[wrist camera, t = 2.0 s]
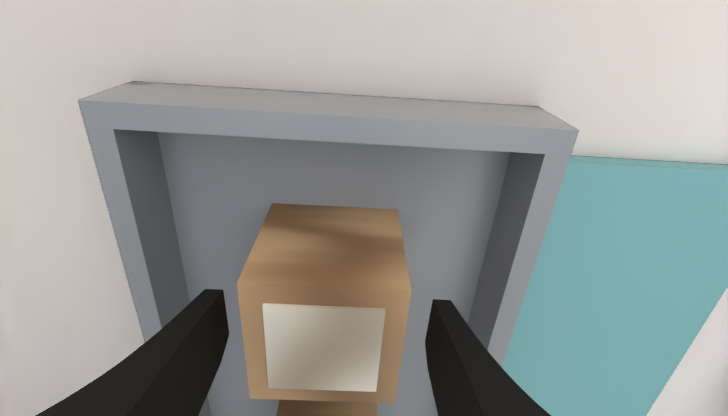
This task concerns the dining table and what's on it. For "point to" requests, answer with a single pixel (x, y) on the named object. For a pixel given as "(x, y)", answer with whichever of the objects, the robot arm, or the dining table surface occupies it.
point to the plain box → (325, 408)
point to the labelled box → (325, 304)
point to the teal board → (620, 284)
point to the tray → (325, 202)
